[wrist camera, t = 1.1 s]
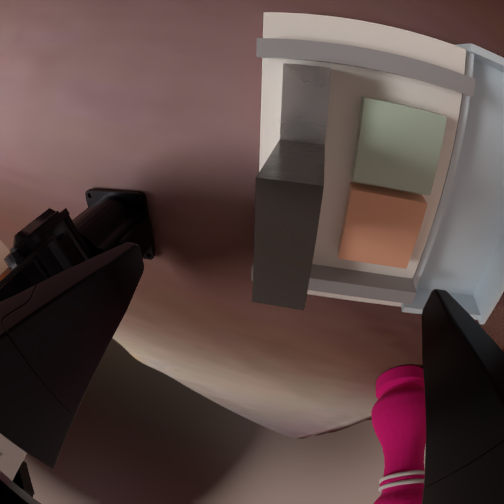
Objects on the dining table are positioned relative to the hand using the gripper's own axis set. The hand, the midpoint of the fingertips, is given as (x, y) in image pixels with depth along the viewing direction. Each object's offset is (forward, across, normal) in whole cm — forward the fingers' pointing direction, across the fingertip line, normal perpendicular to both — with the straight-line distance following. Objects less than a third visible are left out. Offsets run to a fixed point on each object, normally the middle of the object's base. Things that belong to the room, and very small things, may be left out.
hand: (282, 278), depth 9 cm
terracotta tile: (+10, -5, +3) cm, 11 cm away
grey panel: (+10, 0, 0) cm, 10 cm away
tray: (+13, -13, 0) cm, 18 cm away
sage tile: (+10, -5, -2) cm, 11 cm away
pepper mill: (+13, -14, +23) cm, 30 cm away
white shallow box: (+13, -3, 0) cm, 13 cm away
